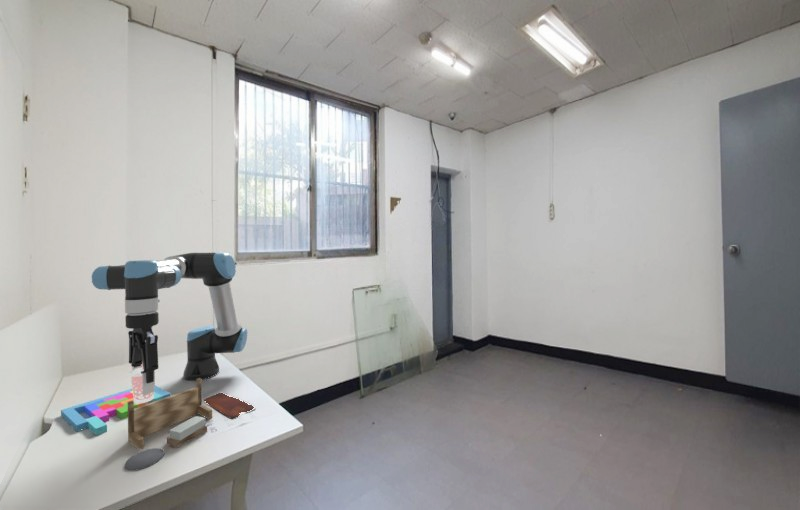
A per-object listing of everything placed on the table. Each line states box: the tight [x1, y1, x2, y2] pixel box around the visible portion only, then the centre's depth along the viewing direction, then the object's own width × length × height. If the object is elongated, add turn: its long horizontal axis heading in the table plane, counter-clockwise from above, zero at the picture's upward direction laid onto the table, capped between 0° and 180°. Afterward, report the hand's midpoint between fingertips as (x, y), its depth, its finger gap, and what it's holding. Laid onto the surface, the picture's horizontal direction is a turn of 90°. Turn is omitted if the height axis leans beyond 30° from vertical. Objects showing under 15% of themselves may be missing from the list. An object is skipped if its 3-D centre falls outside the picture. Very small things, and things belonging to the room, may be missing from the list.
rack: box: [127, 378, 213, 451], centre depth 109 cm, size 22×9×13 cm, turn 149°
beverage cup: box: [129, 362, 157, 404], centre depth 93 cm, size 6×6×14 cm
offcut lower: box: [166, 425, 208, 449], centre depth 104 cm, size 10×5×2 cm, turn 152°
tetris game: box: [60, 385, 171, 436], centre depth 122 cm, size 28×3×28 cm
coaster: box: [124, 447, 165, 471], centre depth 93 cm, size 9×9×1 cm
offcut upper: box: [169, 415, 207, 440], centre depth 104 cm, size 9×5×2 cm, turn 162°
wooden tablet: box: [203, 392, 254, 419], centre depth 127 cm, size 27×10×2 cm, turn 55°
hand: (143, 390), depth 93 cm, fingers closed on beverage cup, 6 cm apart
